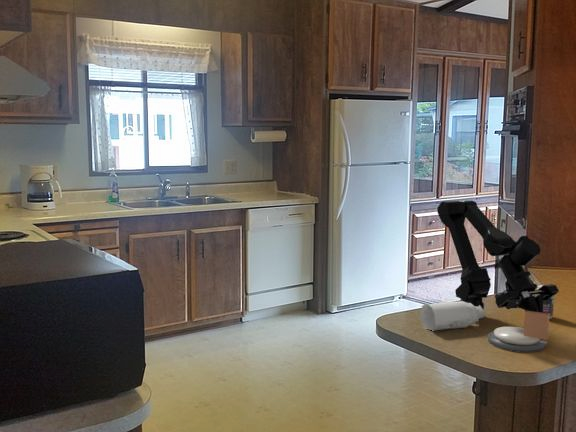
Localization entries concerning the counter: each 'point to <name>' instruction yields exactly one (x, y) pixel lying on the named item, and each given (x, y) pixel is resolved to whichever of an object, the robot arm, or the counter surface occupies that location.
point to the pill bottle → (548, 305)
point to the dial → (526, 330)
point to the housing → (515, 347)
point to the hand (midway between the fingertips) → (541, 322)
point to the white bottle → (450, 315)
